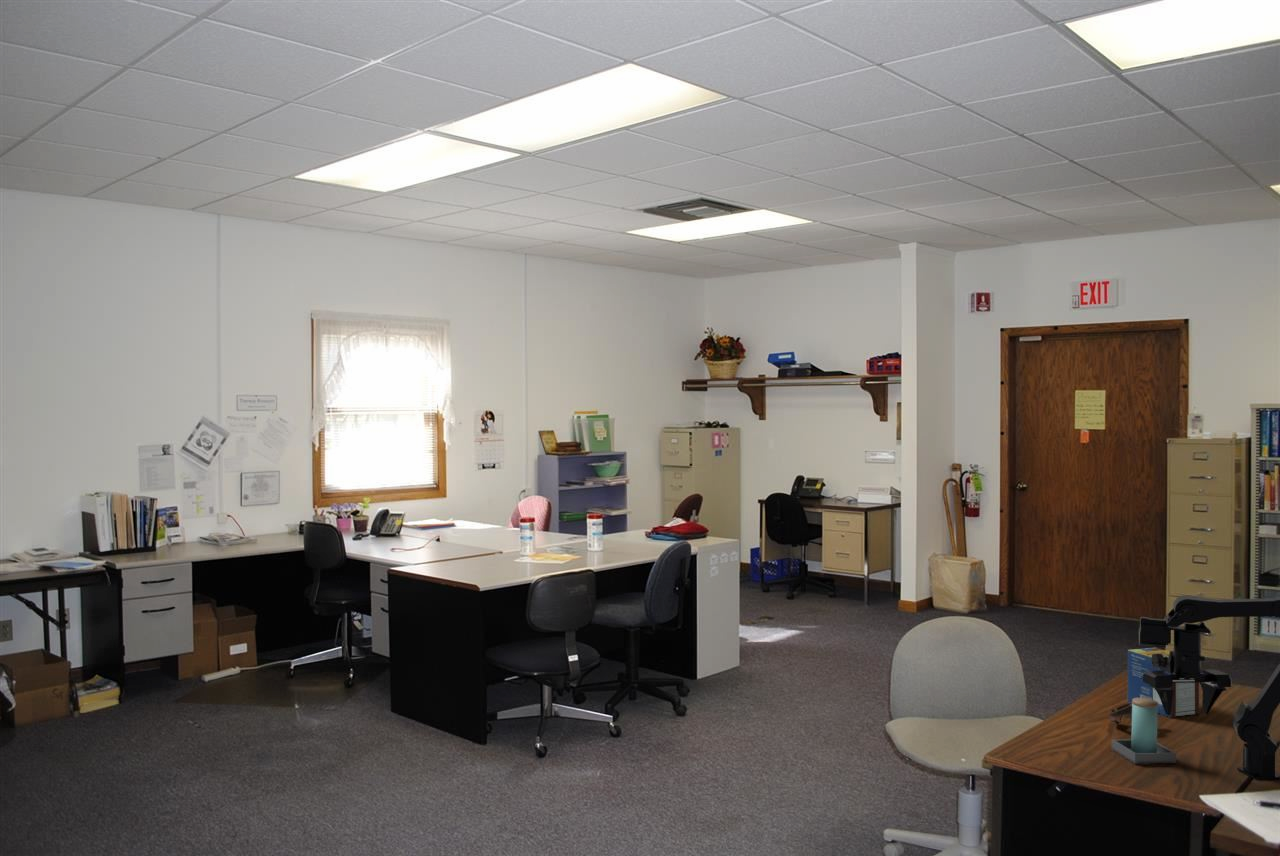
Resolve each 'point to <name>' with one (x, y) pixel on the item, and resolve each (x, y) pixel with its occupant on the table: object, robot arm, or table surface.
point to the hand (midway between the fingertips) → (1186, 714)
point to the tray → (1141, 758)
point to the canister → (1144, 725)
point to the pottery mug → (1121, 712)
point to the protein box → (1182, 695)
